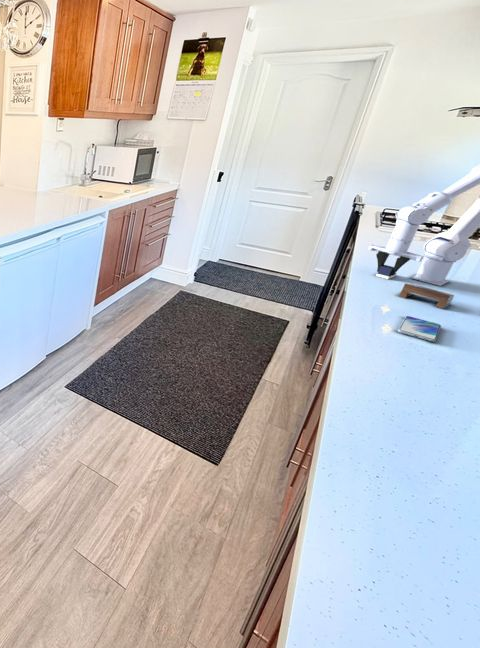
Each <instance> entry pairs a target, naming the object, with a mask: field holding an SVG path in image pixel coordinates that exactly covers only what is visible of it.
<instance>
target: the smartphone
mask: <svg viewBox="0 0 480 648" xmlns="http://www.w3.org/2000/svg"><path fill="white" fill-rule="evenodd" d="M441 327H442V325H441V324H440V323H436V322H433V321H429V320H425V319H422V318H418V317H414V316H409V315H406V316H405V317H404V319H403V321H402V322H401V324H400V325H399V327H398V329H397V331H398V333H401V334H405V335H407V336H411V337H414V338H418V339H422V340H424V341H429V342H433V343H434V342H436V341H437V339H438V335H439V333H440V331H441Z"/></svg>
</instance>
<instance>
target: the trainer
mask: <svg viewBox="0 0 480 648" xmlns="http://www.w3.org/2000/svg"><path fill="white" fill-rule="evenodd" d="M393 268H394V266H392V265H388V264H384V265H383V266H381V267H380V269H379V272H377V273H376V274H375V277H378V278H381V279H386V280H390V279H391V278H394V277H396V276H397V274H398V273H397V272H396V273H395V275H393V276H392V275H390V274H391V272H392V270H393Z"/></svg>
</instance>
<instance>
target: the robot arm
mask: <svg viewBox="0 0 480 648" xmlns="http://www.w3.org/2000/svg"><path fill="white" fill-rule="evenodd" d="M477 186H480V164H479V165H477V166H475V167H472V169H471V170H470V172H469V173H468V174H467V175H465V176H463V177H462V178H461V179H459V180H458V181H456V182H454V183H453V184H452V185H450V186H448V187H447V188H445V189H444V190H442V191H434V192H430V193H429V194H427V196H426V197H424V198H422V199H421V200H419V201H417V202H414V203H412V205H407V206H404V207H402V208H400V209H399V210H398V211H396V212H395V219H396V221H395V226H394V228H393V231H392V233H391V235H390V237H389V239H388V242H387V244H386V246H381V245H375V244H370V245H369V246H368V248H367V250H368V251H371V252H372V251H373V252H377V253H376V256H375V257H376V260H377V270H376V272H377V273H378V272H379V269H380V267H381V266H383V265H386V264H385V263H386V262H387V260H388V258H389V257H390V255H391V256H394V257H397V258H396V260H395V264H394V266H393V267H394V268H393V270H392V272H391V274H390V275H392V276H393V275H395V273H397V272H398V271H399V270H400V268H402V267H403V266H404V265H406V264H407V263H408V262H409V261H411V260H412V261H416V262H419V263H420V262H422V263H421V264H420V266H419V268H418V269H417V270H418V271H417V273H416V274H415V275H413V276H411V277H410V279H412V280H416V281H420V282H424V283H428V284H430V285H431V284H432V285H436V286H443V285H445V284H447V283H449V280H448V279H446V278H447V276H448V274H449V273H450V271H451V269H452V267H453V265H454V263H457V261H459V260H461V259H463V258H464V257H465V256H466V254H467V251H468V250H469V249H470V247H471V246H472V243H471V242H470V240H469V238H470V237H472V235H473V234H475V232H476V231H477V230H478V229H479V228H480V197H479V198H478V199H476V201H475V202H474V203H472V205H471V206H470V207H469V208H468V209H467V211H465V212H464V213H463V214H462V215H461V216H460V218H459V219H458V220H456V222H455V223H453V225H452V226H451V227H450V228H449V229H448V230H446V231H442V232H440V233H437V234H435V236H434V237H432V238H430V239H429V240H427V241H426V242H425V243H424V245H423V251H424V252H425V253H424V255H425V256H424V255H420V254H417V253H413V252H410V251H408V250H409V249H410V247H411V244H412V242H413V240H414V238H415V236H416V234H417V231H418V230H419V228H420V225H422V224H425V223H426V222H427V221H428V220H429V219H430V217H431V216H432V215H433V214H434V213H436V212H438V211H439V210H441V209H443V208H445V207H447V206H448V205H450V204H451V201H452V199H454V198H456V197H458V196H460V195H461V194H463V193H465V192H467V191H470V190H472V189H473V188H475V187H477Z"/></svg>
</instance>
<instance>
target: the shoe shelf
mask: <svg viewBox="0 0 480 648" xmlns="http://www.w3.org/2000/svg"><path fill="white" fill-rule="evenodd" d="M413 294H414V295H418V296H422V297H425V298H430V299H432V300H436V301H438V302H437V304H436V306H435V307H436V308H439V309H441V310H443V309H445V308H447V307H448V306H449V305H451V303H452V301H453V299H454V297H456V296H455V294H452V293H448V292H444V291H440V290H436V289H433V288H430V287H425V286H422V285H418V284H414V283H404V284H403V287H402V288H401V291H400V293H399V295H398V297H400V298H403V299H406V298H408V297H410V296H412V295H413Z"/></svg>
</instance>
